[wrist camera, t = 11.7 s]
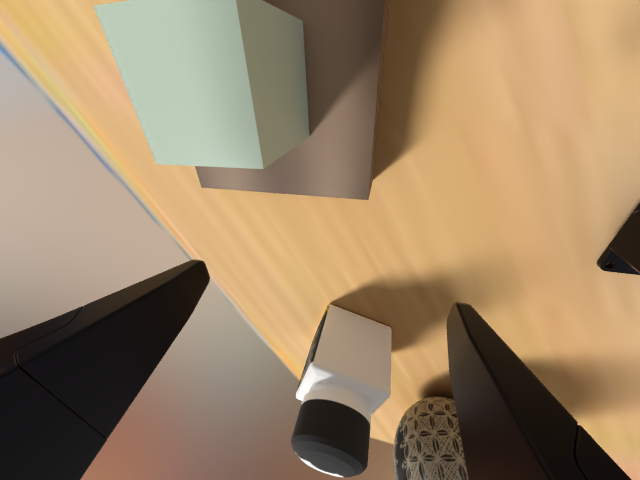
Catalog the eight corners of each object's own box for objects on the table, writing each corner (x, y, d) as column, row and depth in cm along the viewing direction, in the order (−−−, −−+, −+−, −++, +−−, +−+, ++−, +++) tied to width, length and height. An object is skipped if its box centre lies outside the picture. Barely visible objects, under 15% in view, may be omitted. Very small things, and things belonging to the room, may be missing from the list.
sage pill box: (302, 20, 12) (233, -16, 7) (309, 136, 14) (263, 168, 9) (209, 30, 13) (93, 5, 8) (232, 135, 15) (156, 164, 11)
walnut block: (394, -62, 12) (393, -110, 9) (373, 177, 19) (368, 199, 16) (185, -30, 15) (126, -58, 12) (230, 170, 21) (201, 187, 18)
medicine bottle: (328, 301, 27) (289, 432, 17) (392, 326, 26) (390, 474, 16) (313, 338, 31) (275, 459, 21) (368, 359, 30) (355, 493, 21)
